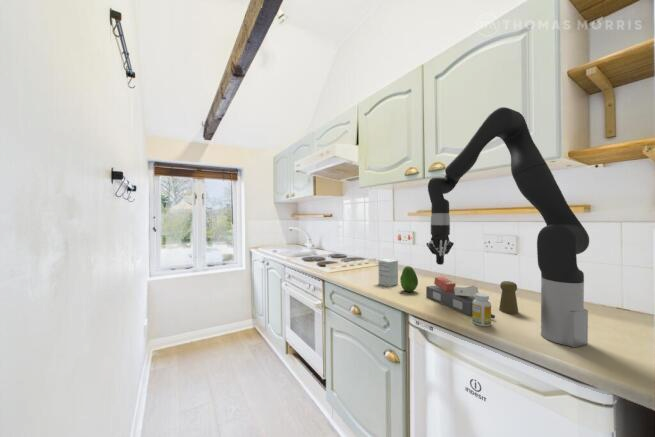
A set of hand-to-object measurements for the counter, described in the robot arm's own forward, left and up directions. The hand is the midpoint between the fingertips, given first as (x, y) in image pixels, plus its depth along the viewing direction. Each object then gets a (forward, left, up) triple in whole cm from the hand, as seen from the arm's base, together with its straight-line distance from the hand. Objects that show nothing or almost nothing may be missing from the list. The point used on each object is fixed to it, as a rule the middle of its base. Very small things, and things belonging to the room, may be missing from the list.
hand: (440, 264), depth 114 cm
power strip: (-11, 0, -15) cm, 18 cm away
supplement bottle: (-26, +6, -15) cm, 30 cm away
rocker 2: (-14, 0, -9) cm, 17 cm away
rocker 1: (-2, 0, -9) cm, 10 cm away
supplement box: (+28, +8, -15) cm, 33 cm away
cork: (-21, -13, -15) cm, 29 cm away
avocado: (+13, +6, -15) cm, 21 cm away
